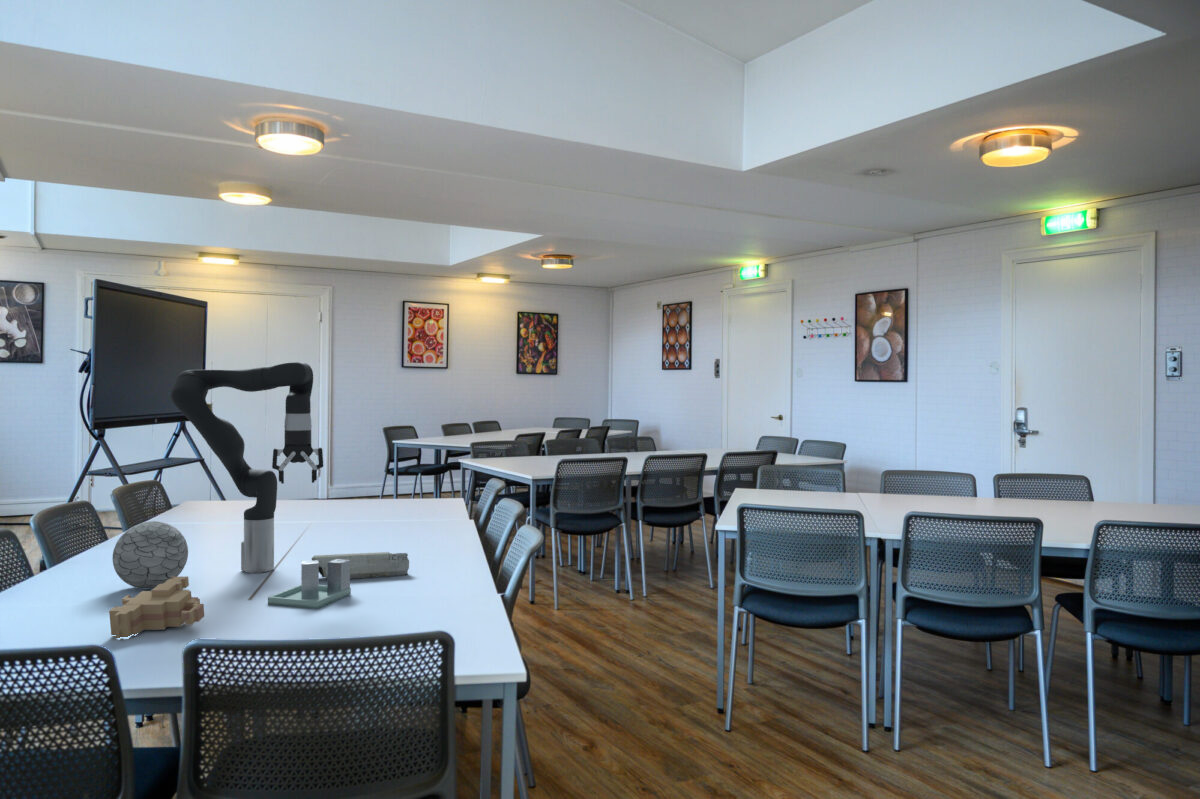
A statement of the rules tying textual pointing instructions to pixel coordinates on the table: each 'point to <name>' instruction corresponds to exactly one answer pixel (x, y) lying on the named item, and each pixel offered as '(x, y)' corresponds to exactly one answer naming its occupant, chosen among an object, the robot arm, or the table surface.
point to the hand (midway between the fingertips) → (297, 482)
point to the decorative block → (368, 564)
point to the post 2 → (338, 576)
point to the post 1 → (309, 579)
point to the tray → (295, 600)
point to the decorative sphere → (150, 554)
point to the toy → (156, 609)
